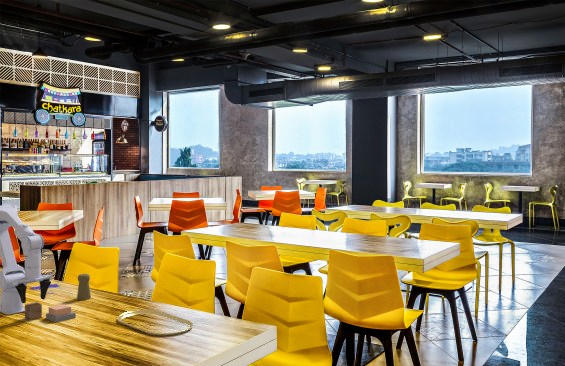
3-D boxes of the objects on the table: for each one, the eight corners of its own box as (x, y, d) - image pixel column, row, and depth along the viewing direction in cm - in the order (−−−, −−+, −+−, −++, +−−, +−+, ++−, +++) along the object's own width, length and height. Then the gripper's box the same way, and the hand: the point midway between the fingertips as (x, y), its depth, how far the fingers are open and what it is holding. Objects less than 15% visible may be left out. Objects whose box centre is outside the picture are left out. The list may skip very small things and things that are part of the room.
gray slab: (45, 319, 210) (45, 313, 210) (65, 315, 216) (65, 309, 216) (56, 323, 205) (56, 317, 205) (75, 319, 211) (75, 312, 211)
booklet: (46, 299, 240) (46, 297, 240) (29, 289, 259) (29, 287, 259) (74, 295, 248) (74, 293, 248) (56, 285, 267) (56, 283, 267)
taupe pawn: (86, 300, 237) (86, 275, 237) (73, 299, 238) (73, 275, 238) (93, 297, 243) (93, 273, 243) (81, 296, 244) (81, 272, 244)
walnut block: (24, 318, 210) (24, 304, 210) (36, 315, 213) (36, 302, 213) (30, 320, 207) (30, 306, 207) (41, 318, 211) (41, 304, 210)
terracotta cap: (48, 313, 210) (48, 307, 210) (63, 310, 214) (63, 304, 214) (56, 316, 206) (56, 309, 206) (71, 313, 210) (71, 306, 210)
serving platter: (149, 311, 223) (149, 307, 223) (203, 329, 200) (203, 325, 200) (108, 320, 209) (108, 316, 209) (160, 341, 186) (160, 336, 186)
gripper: (18, 270, 201) (19, 306, 202) (55, 264, 212) (56, 299, 213) (10, 268, 206) (10, 303, 206) (47, 262, 217) (47, 296, 217)
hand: (33, 300), depth 210 cm, fingers open, 7 cm apart
